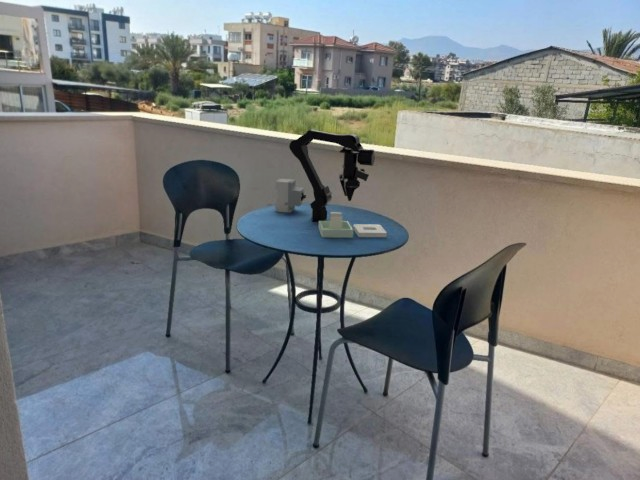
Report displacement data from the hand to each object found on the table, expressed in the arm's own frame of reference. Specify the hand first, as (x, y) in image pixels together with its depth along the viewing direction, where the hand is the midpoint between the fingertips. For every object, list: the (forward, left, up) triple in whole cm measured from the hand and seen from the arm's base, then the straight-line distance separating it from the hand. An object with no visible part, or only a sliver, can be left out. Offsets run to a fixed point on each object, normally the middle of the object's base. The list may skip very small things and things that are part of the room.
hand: (347, 198), depth 198 cm
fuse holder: (+8, -13, -12) cm, 19 cm away
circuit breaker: (-24, +22, -12) cm, 35 cm away
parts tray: (-7, -13, -12) cm, 19 cm away
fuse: (-7, -13, -11) cm, 18 cm away
